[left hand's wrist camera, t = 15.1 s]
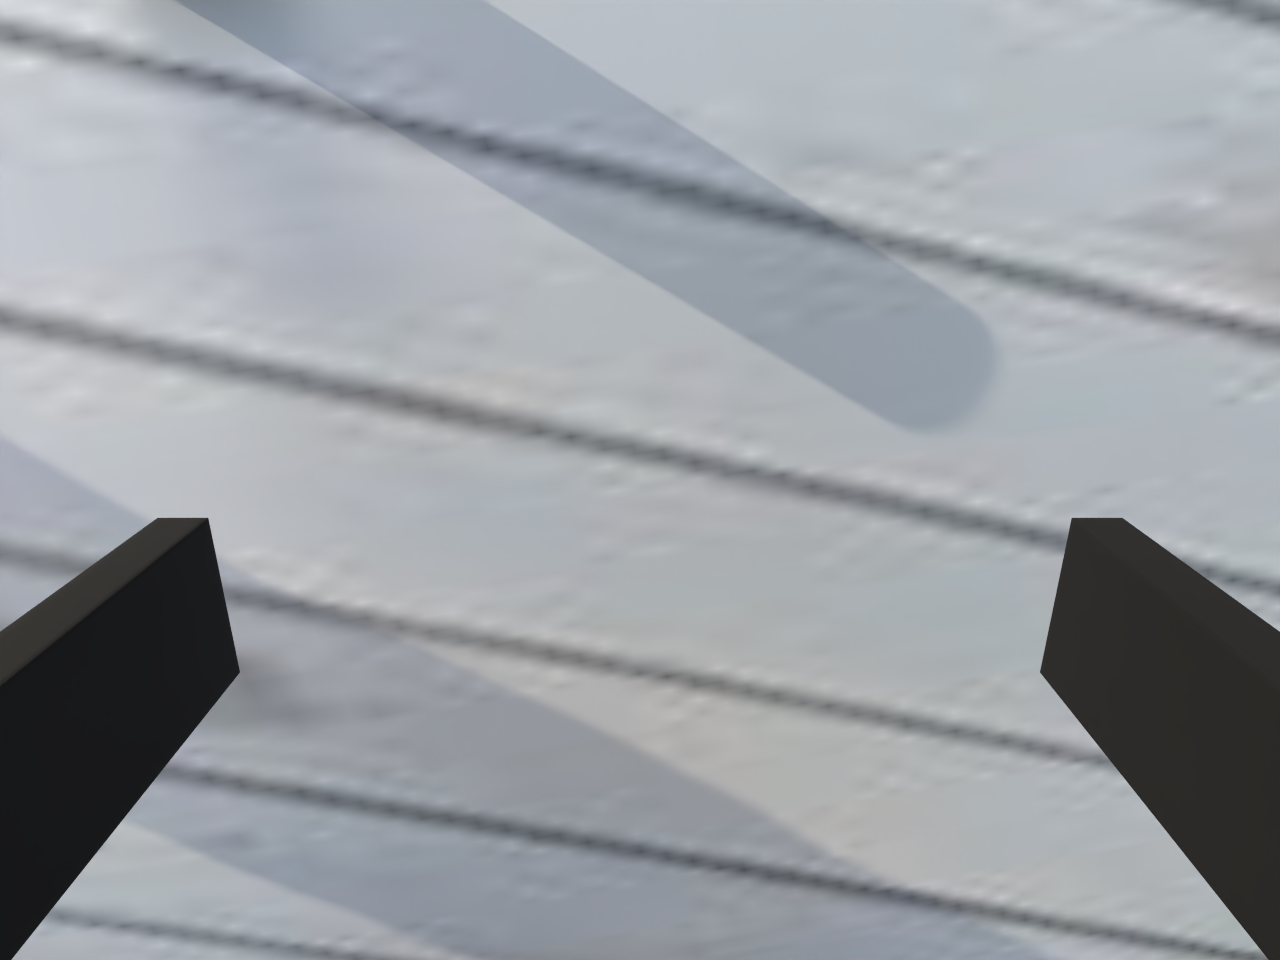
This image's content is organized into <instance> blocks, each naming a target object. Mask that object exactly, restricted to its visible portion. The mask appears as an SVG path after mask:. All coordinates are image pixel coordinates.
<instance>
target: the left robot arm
mask: <svg viewBox="0 0 1280 960" xmlns="http://www.w3.org/2000/svg"><path fill="white" fill-rule="evenodd" d="M239 673H240V670H239V666H238V661H237V656H236V651H235V646H234V641H233V636H232V632H231V627H230V622H229V617H228V612H227V607H226V602H225V598H224V593H223V588H222V583H221V578H220V573H219V568H218V564H217V559H216V554H215V549H214V544H213V539H212V534H211V530H210V525H209V520H208V518H157V519H156V520H154V521H153V522H151V523H150V524H149V525H147V526H146V527H145V528H143V529H142V530H140V531H139V532H138V533H136V534H135V535H133V536H132V537H131V538H129V539H128V540H127V541H125V542H124V543H122V544H121V545H120V546H118V547H117V548H116V549H114V550H113V551H111V552H110V553H109V554H107V555H106V556H104V557H103V558H102V559H100V560H99V561H98V562H96V563H95V564H93V565H92V566H91V567H89V568H88V569H86V570H85V571H84V572H82V573H81V574H80V575H78V576H77V577H75V578H74V579H73V580H71V581H70V582H69V583H67V584H66V585H64V586H63V587H62V588H60V589H59V590H57V591H56V592H55V593H53V594H52V595H51V596H49V597H48V598H46V599H45V600H44V601H42V602H41V603H39V604H38V605H37V606H35V607H34V608H33V609H31V610H30V611H28V612H27V613H26V614H24V615H23V616H22V617H20V618H19V619H17V620H16V621H15V622H13V623H12V624H10V625H9V626H8V627H6V628H5V629H4V630H2V631H1V632H0V960H11V959H12V958H13V957H14V956H15V954H16V953H17V952H18V951H19V949H20V948H21V947H22V946H23V944H24V943H25V942H26V941H27V939H28V938H29V937H30V936H31V934H32V933H33V932H34V930H35V929H36V928H37V927H38V925H39V924H40V923H41V922H42V920H43V919H44V918H45V917H46V915H47V914H48V913H49V912H50V910H51V909H52V908H53V907H54V905H55V904H56V903H57V902H58V900H59V899H60V898H61V897H62V895H63V894H64V893H65V892H66V890H67V889H68V888H69V886H70V885H71V884H72V883H73V881H74V880H75V879H76V878H77V876H78V875H79V874H80V873H81V871H82V870H83V869H84V868H85V866H86V865H87V864H88V863H89V861H90V860H91V859H92V858H93V856H94V855H95V854H96V853H97V851H98V850H99V849H100V847H101V846H102V845H103V844H104V842H105V841H106V840H107V839H108V837H109V836H110V835H111V834H112V832H113V831H114V830H115V829H116V827H117V826H118V825H119V824H120V822H121V821H122V820H123V819H124V817H125V816H126V815H127V814H128V812H129V811H130V810H131V809H132V807H133V806H134V805H135V803H136V802H137V801H138V800H139V798H140V797H141V796H142V795H143V793H144V792H145V791H146V790H147V788H148V787H149V786H150V785H151V783H152V782H153V781H154V780H155V778H156V777H157V776H158V775H159V773H160V772H161V771H162V770H163V768H164V767H165V766H166V765H167V763H168V762H169V761H170V759H171V758H172V757H173V756H174V754H175V753H176V752H177V751H178V749H179V748H180V747H181V746H182V744H183V743H184V742H185V741H186V739H187V738H188V737H189V736H190V734H191V733H192V732H193V731H194V729H195V728H196V727H197V726H198V724H199V723H200V722H201V721H202V719H203V718H204V717H205V715H206V714H207V713H208V712H209V710H210V709H211V708H212V707H213V705H214V704H215V703H216V702H217V700H218V699H219V698H220V697H221V695H222V694H223V693H224V692H225V690H226V689H227V688H228V687H229V685H230V684H231V683H232V682H233V680H234V679H235V678H236V676H237V675H238V674H239ZM1040 673H1041V674H1042V675H1043V676H1044V678H1045V679H1046V680H1047V682H1048V683H1049V684H1050V685H1051V687H1052V688H1053V689H1054V690H1055V692H1056V693H1057V694H1058V695H1059V697H1060V698H1061V699H1062V700H1063V702H1064V703H1065V704H1066V705H1067V707H1068V708H1069V709H1070V710H1071V712H1072V713H1073V714H1074V715H1075V717H1076V718H1077V719H1078V721H1079V722H1080V723H1081V724H1082V726H1083V727H1084V728H1085V729H1086V731H1087V732H1088V733H1089V734H1090V736H1091V737H1092V738H1093V739H1094V741H1095V742H1096V743H1097V744H1098V746H1099V747H1100V748H1101V749H1102V751H1103V752H1104V753H1105V754H1106V756H1107V757H1108V758H1109V759H1110V761H1111V762H1112V763H1113V765H1114V766H1115V767H1116V768H1117V770H1118V771H1119V772H1120V773H1121V775H1122V776H1123V777H1124V778H1125V780H1126V781H1127V782H1128V783H1129V785H1130V786H1131V787H1132V788H1133V790H1134V791H1135V792H1136V793H1137V795H1138V796H1139V797H1140V798H1141V800H1142V801H1143V802H1144V803H1145V805H1146V806H1147V807H1148V809H1149V810H1150V811H1151V812H1152V814H1153V815H1154V816H1155V817H1156V819H1157V820H1158V821H1159V822H1160V824H1161V825H1162V826H1163V827H1164V829H1165V830H1166V831H1167V832H1168V834H1169V835H1170V836H1171V837H1172V839H1173V840H1174V841H1175V842H1176V844H1177V845H1178V846H1179V848H1180V849H1181V850H1182V851H1183V853H1184V854H1185V855H1186V856H1187V858H1188V859H1189V860H1190V861H1191V863H1192V864H1193V865H1194V866H1195V868H1196V869H1197V870H1198V871H1199V873H1200V874H1201V875H1202V876H1203V878H1204V879H1205V880H1206V881H1207V883H1208V884H1209V885H1210V886H1211V888H1212V889H1213V890H1214V892H1215V893H1216V894H1217V895H1218V897H1219V898H1220V899H1221V900H1222V902H1223V903H1224V904H1225V905H1226V907H1227V908H1228V909H1229V910H1230V912H1231V913H1232V914H1233V915H1234V917H1235V918H1236V919H1237V920H1238V922H1239V923H1240V924H1241V925H1242V927H1243V928H1244V929H1245V930H1246V932H1247V933H1248V934H1249V936H1250V937H1251V938H1252V939H1253V941H1254V942H1255V943H1256V944H1257V946H1258V947H1259V948H1260V949H1261V951H1262V952H1263V953H1264V954H1265V956H1266V957H1267V958H1268V959H1269V960H1280V632H1279V631H1278V630H1276V629H1275V628H1274V627H1272V626H1271V625H1270V624H1268V623H1267V622H1265V621H1264V620H1263V619H1261V618H1260V617H1258V616H1257V615H1256V614H1254V613H1253V612H1252V611H1250V610H1249V609H1247V608H1246V607H1245V606H1243V605H1242V604H1241V603H1239V602H1238V601H1236V600H1235V599H1234V598H1232V597H1231V596H1229V595H1228V594H1227V593H1225V592H1224V591H1223V590H1221V589H1220V588H1218V587H1217V586H1216V585H1214V584H1213V583H1211V582H1210V581H1209V580H1207V579H1206V578H1205V577H1203V576H1202V575H1200V574H1199V573H1198V572H1196V571H1195V570H1194V569H1192V568H1191V567H1189V566H1188V565H1187V564H1185V563H1184V562H1182V561H1181V560H1180V559H1178V558H1177V557H1176V556H1174V555H1173V554H1171V553H1170V552H1169V551H1167V550H1166V549H1164V548H1163V547H1162V546H1160V545H1159V544H1158V543H1156V542H1155V541H1153V540H1152V539H1151V538H1149V537H1148V536H1147V535H1145V534H1144V533H1142V532H1141V531H1140V530H1138V529H1137V528H1135V527H1134V526H1133V525H1131V524H1130V523H1129V522H1127V521H1126V520H1124V519H1123V518H1072V520H1071V525H1070V530H1069V534H1068V539H1067V544H1066V549H1065V554H1064V559H1063V564H1062V568H1061V573H1060V578H1059V583H1058V588H1057V593H1056V598H1055V602H1054V607H1053V612H1052V617H1051V622H1050V627H1049V632H1048V636H1047V641H1046V646H1045V651H1044V656H1043V661H1042V666H1041V670H1040Z"/></svg>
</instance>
